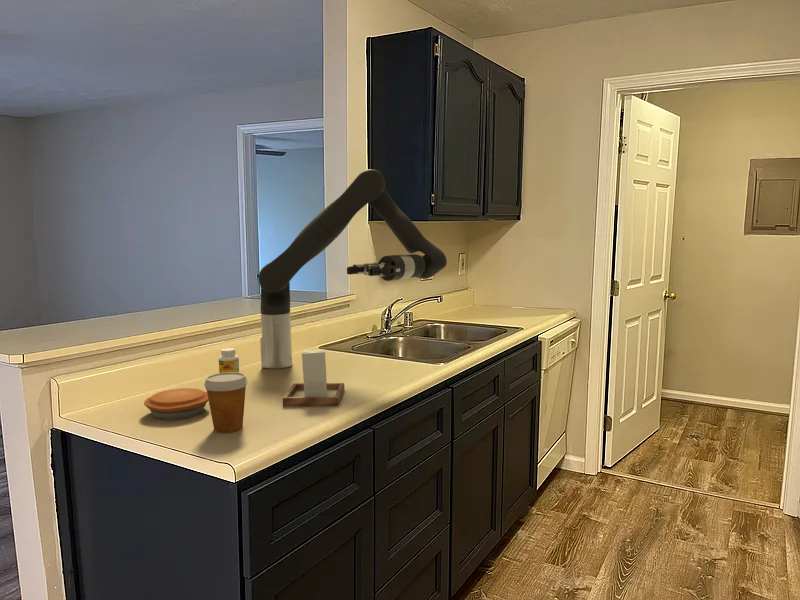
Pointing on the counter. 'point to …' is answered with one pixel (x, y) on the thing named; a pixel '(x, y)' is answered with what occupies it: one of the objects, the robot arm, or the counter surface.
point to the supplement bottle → (228, 361)
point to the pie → (177, 403)
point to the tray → (297, 398)
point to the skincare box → (314, 373)
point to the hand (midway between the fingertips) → (358, 271)
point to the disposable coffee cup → (226, 400)
